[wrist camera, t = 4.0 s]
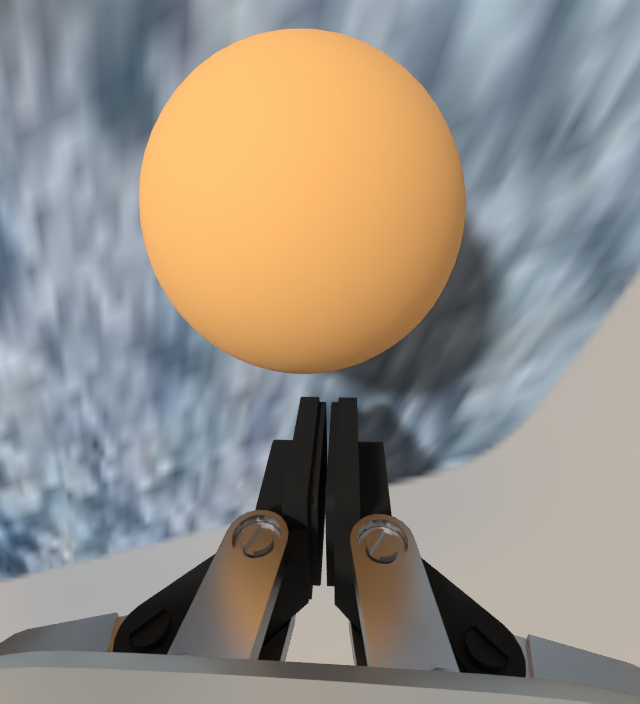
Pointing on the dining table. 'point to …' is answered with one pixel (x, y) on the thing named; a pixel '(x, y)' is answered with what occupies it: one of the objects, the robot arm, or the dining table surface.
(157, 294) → the dining table surface
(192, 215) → the ball
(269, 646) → the robot arm
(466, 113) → the dining table surface
